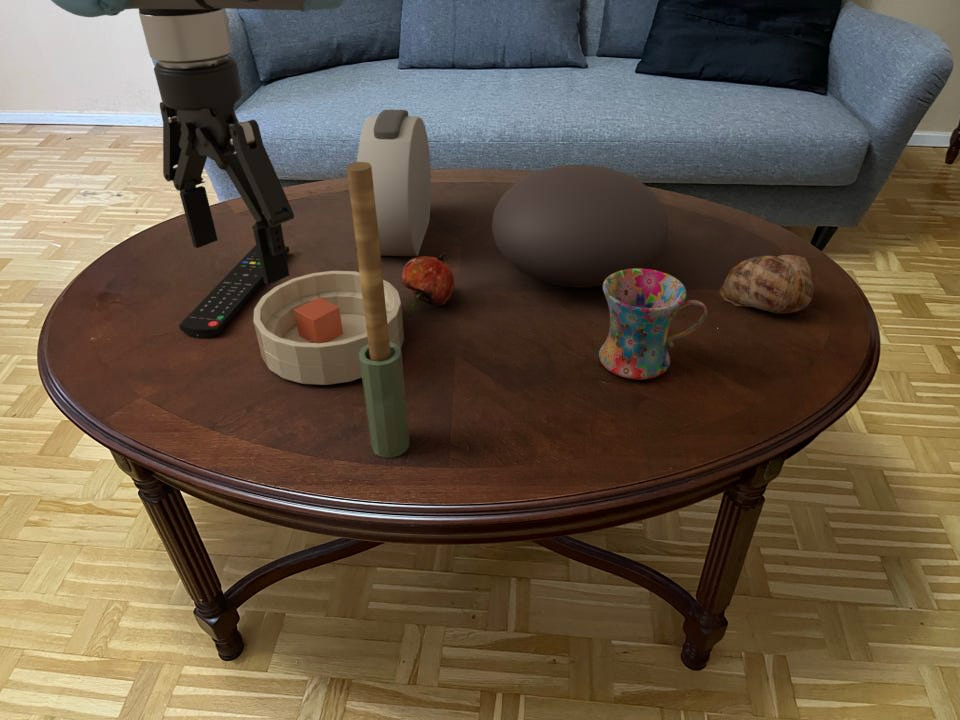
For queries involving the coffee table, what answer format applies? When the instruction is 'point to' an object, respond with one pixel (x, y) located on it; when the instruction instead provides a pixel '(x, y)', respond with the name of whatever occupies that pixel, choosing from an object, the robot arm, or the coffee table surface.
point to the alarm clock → (398, 179)
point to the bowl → (320, 359)
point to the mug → (642, 321)
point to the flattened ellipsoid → (579, 225)
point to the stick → (369, 258)
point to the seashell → (770, 284)
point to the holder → (385, 402)
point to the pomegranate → (428, 279)
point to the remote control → (225, 298)
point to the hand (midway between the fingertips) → (239, 260)
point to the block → (318, 321)
